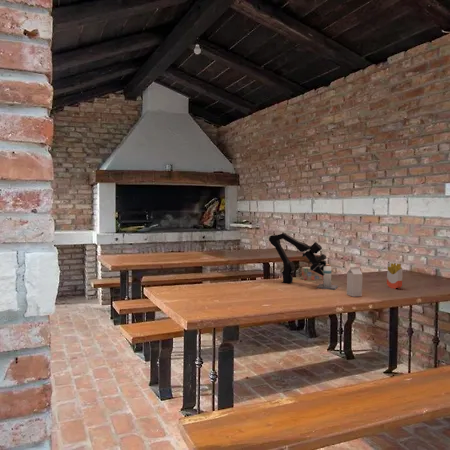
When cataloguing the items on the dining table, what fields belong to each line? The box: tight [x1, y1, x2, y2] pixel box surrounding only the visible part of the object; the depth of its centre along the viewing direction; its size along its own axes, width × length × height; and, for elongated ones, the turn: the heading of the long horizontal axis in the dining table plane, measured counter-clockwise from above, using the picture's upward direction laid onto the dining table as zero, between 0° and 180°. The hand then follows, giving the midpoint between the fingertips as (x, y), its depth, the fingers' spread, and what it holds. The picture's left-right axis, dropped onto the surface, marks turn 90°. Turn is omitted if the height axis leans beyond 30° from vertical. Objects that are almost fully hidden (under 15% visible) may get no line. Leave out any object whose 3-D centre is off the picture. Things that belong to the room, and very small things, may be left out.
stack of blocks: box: [301, 263, 331, 281], centre depth 338 cm, size 21×6×12 cm, turn 94°
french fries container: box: [386, 262, 404, 290], centre depth 306 cm, size 5×11×18 cm, turn 20°
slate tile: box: [316, 283, 339, 291], centre depth 306 cm, size 13×11×1 cm
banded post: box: [322, 265, 333, 287], centre depth 305 cm, size 6×6×14 cm
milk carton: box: [346, 266, 363, 298], centre depth 281 cm, size 7×7×19 cm
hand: (325, 274), depth 306 cm, fingers open, 9 cm apart
